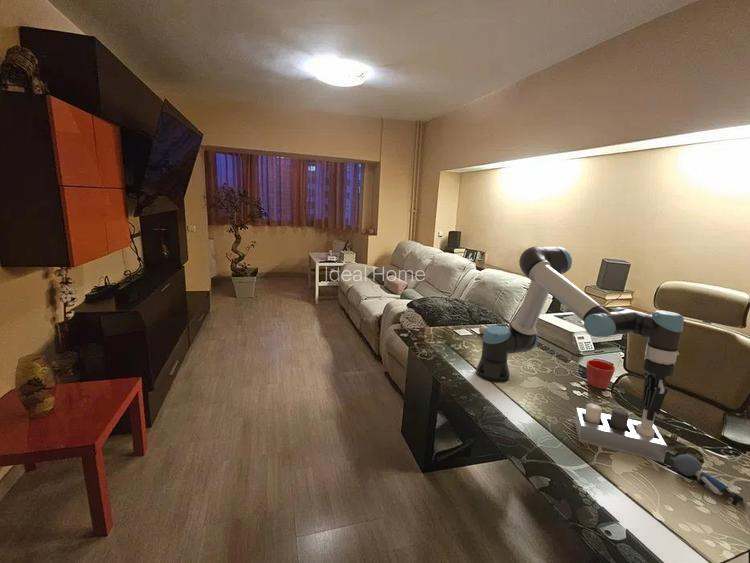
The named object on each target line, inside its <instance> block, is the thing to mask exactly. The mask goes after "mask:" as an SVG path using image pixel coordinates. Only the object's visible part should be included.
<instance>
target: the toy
mask: <svg viewBox="0 0 750 563" xmlns="http://www.w3.org/2000/svg"><path fill="white" fill-rule="evenodd" d="M669 459H670V460H671V461H673V466H674V468H675V470H676V471H677V472H679V473H680V474H681V475H683V476H686V477H694V476H696V477H697V479H696V481H697V484H698V485H700V486H702V487H703V486H707V487H708V488H710V490H711V491H712V492H713V493H714V494H716V495H717V496H722V495H723V496H724V497H726V498H731V499H733V500H732V505H733V506H736V505H737V504H738V503H739V502H740V503H743V502H744V501H745V500H744V497H742V496H741V495H739V494H737V493H736V492H730V491H729V490H728V489H729V486H727V485H726V484H724V483H723V482H721V481H720V480H719V479H717V478H715V477H713V476H711V475H709V474H708V473H706V472H704V471H702V464H701V461H700V460H699V459H698V458H696V457H695V456H694V455H691V454H688V453H687V454H685V453H684V454H683V453H682V454H678V455H677V456H676V457H673V456H670V457H669Z"/></svg>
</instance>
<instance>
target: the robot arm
mask: <svg viewBox="0 0 750 563" xmlns="http://www.w3.org/2000/svg"><path fill="white" fill-rule="evenodd" d="M518 263H519V268H520V270H521V272H522V273H523V274H524V275H525V276H526V278H528V279H529V280H530V283H529V286H528V288H527V291H526V293H525V297H523V298H524V299H523V301H522V303H521V306H520V309H519V311H518V314H517V317H516V318H515V319H514V320H512V321H511V323H510V326H509V328H508V327H506V326H503V325H491V326H488V327H486V329H485V331H484V334H482V335H483V336H482V344H481V345H482V348H481V356H480V359H479V362H478V364H477V366H476V370H475V371H476V372H475V373H476V376H477V377H479V378H480V379H482V380H484V381H486V382H491V383H497V384H498V383H502V384H503V383H506V382H508V381H509V380H510V377H511V376H510V375H511V374H510V373H511V372H510V369H509V365H508V356H509V355H511V354H518V353H519V354H520V353H527V352H529V351H532V350H534V349H535V348H536V347H537V345H538V342H539V335H538V333H537V329H536V325H537V323H538V320H539V318H540V316H541V313H542V310H543V309H544V306H545V303H547V302H546V301H547V299H548V296H549V295H550V294H551V295H552V296H553V297H554V298H555V299H556V300H558V301H559V302H560V303H561V304H563V305H564V306H565V307H566V308H567V309H568V310H569V311H570V312H572V313H573V314H574V315H575V316H577V318H579V319H580V320H582V321H583V327H584V329H585V331H586V333H587V334H588V335H590V336H591V337H595V338H608V337H611V336H618V335H619V336H620V335H627V334H634V335H637V336H640V337H645V338H647V342H646V346H645V353H644V356H645V357H644V359H643V365H642V367H643V369H644V370H645V371H644V382H643V392H642V398H641V399H642V400H641V401H642V402H643V411H642V415H641V420H640V422H641V426H642V427H644V428H649V429H652V428H653V424H654V422H655V418H656V413H657V414H660V411H661V408H662V406H663V403H664V400H665V397H666V395H667V394H668V392H669V390H668V388H665V386H666V384H667V380H666V378H667V377H671V376H673V375H674V372H675V368H676V364H675V363H676V361H677V357H678V356H680V352H679V348H680V347H679V346H680V343H681V339H682V334H683V331H684V322H685V321H684V320H685V318H684V316H683V315H682V314H680V313H678V312H674V311H667V310H655V311H653V312H652V314H649V313H645V312H642V311H638V310H634V309H631V308H628V307H621V306H618V307H615V308H614V309H612V310H611V311H609V310H607V308H605V307H603V306H602V305H600V304H599V303H598V302H596V301H595V300H594V299H593V298H592V297H590V296H589V295H588V294H586V292H583V291H582V290H581V289H580V288H579V287H577V286H576V285H575V284H573V283H572V282H571V281H570V280H569V279H567V278H566V277H565V276H563V274H566V273H567V272H569V271H570V270H571V268H572V264H573V260H572V256H571V254H570V252H569V251H568V250H567V249H566V248H565V247H562V246H555V245H552V246H532V247H528V248H527V249H525V250H524V251H523V252H522V253H521V255H520V256H519V261H518Z"/></svg>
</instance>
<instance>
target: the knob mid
mask: <svg viewBox="0 0 750 563" xmlns="http://www.w3.org/2000/svg"><path fill="white" fill-rule="evenodd" d="M610 415H611V419H610V425H609V427H610V428H614V429H618V430H622V431H626V428H627V422H628V419H629V416H630V415H629V413H628V412H626V411H624V410H623V409H618V408H612V410H611V414H610Z"/></svg>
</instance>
